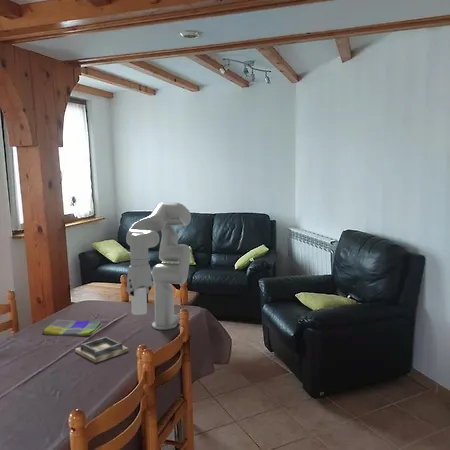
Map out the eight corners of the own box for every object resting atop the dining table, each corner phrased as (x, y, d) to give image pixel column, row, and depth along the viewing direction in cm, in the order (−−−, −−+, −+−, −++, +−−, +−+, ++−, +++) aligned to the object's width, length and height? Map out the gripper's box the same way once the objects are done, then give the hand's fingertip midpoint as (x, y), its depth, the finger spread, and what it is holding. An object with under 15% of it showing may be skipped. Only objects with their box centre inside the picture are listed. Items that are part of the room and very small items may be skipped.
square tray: (107, 341, 205) (107, 334, 204) (128, 351, 194) (128, 343, 193) (75, 351, 193) (74, 344, 193) (95, 363, 182) (95, 354, 182)
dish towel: (88, 338, 210) (88, 332, 209) (39, 335, 213) (39, 329, 213) (103, 325, 227) (103, 320, 227) (58, 322, 230) (57, 317, 230)
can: (144, 316, 188) (143, 288, 187) (129, 315, 189) (128, 287, 188) (149, 311, 195) (148, 284, 193) (134, 310, 196) (134, 283, 194)
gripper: (149, 257, 198) (150, 297, 201) (117, 263, 186) (118, 306, 188) (160, 260, 193) (161, 301, 196) (128, 266, 181) (129, 310, 183)
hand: (140, 303), depth 192 cm, fingers closed on can, 4 cm apart
